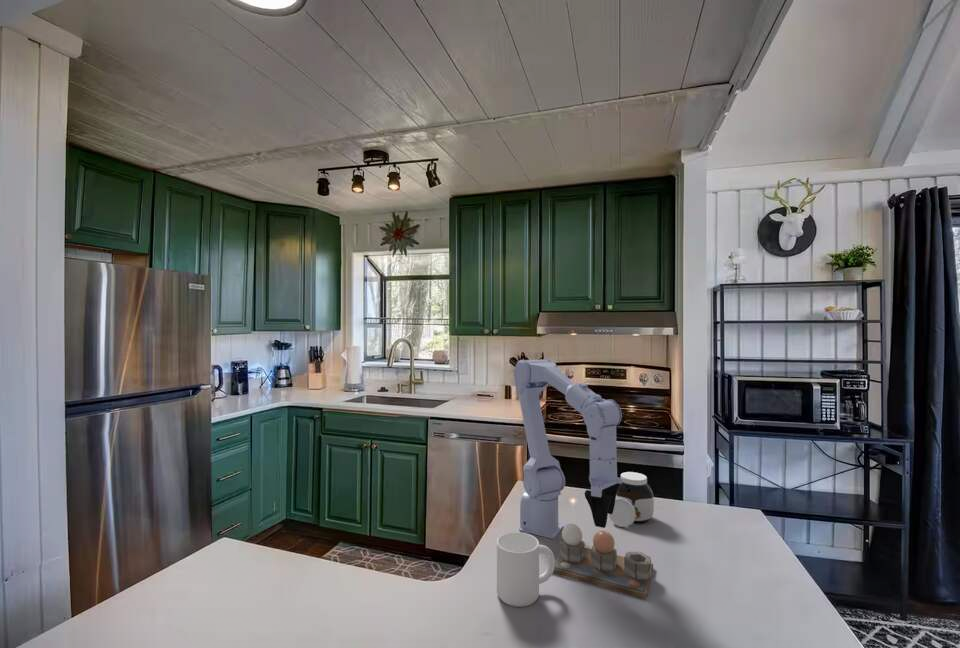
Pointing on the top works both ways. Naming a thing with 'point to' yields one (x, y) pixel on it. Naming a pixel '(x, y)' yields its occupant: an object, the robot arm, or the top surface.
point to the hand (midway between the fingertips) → (604, 519)
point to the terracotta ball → (603, 542)
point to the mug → (520, 568)
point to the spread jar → (633, 501)
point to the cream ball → (572, 534)
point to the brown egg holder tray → (606, 568)
